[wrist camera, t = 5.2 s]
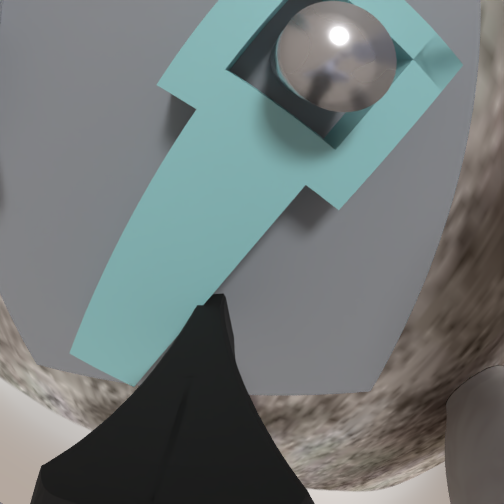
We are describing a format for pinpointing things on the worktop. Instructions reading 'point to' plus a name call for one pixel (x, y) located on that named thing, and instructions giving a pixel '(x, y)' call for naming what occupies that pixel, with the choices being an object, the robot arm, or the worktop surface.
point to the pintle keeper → (333, 56)
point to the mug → (476, 440)
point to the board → (152, 155)
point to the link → (240, 176)
